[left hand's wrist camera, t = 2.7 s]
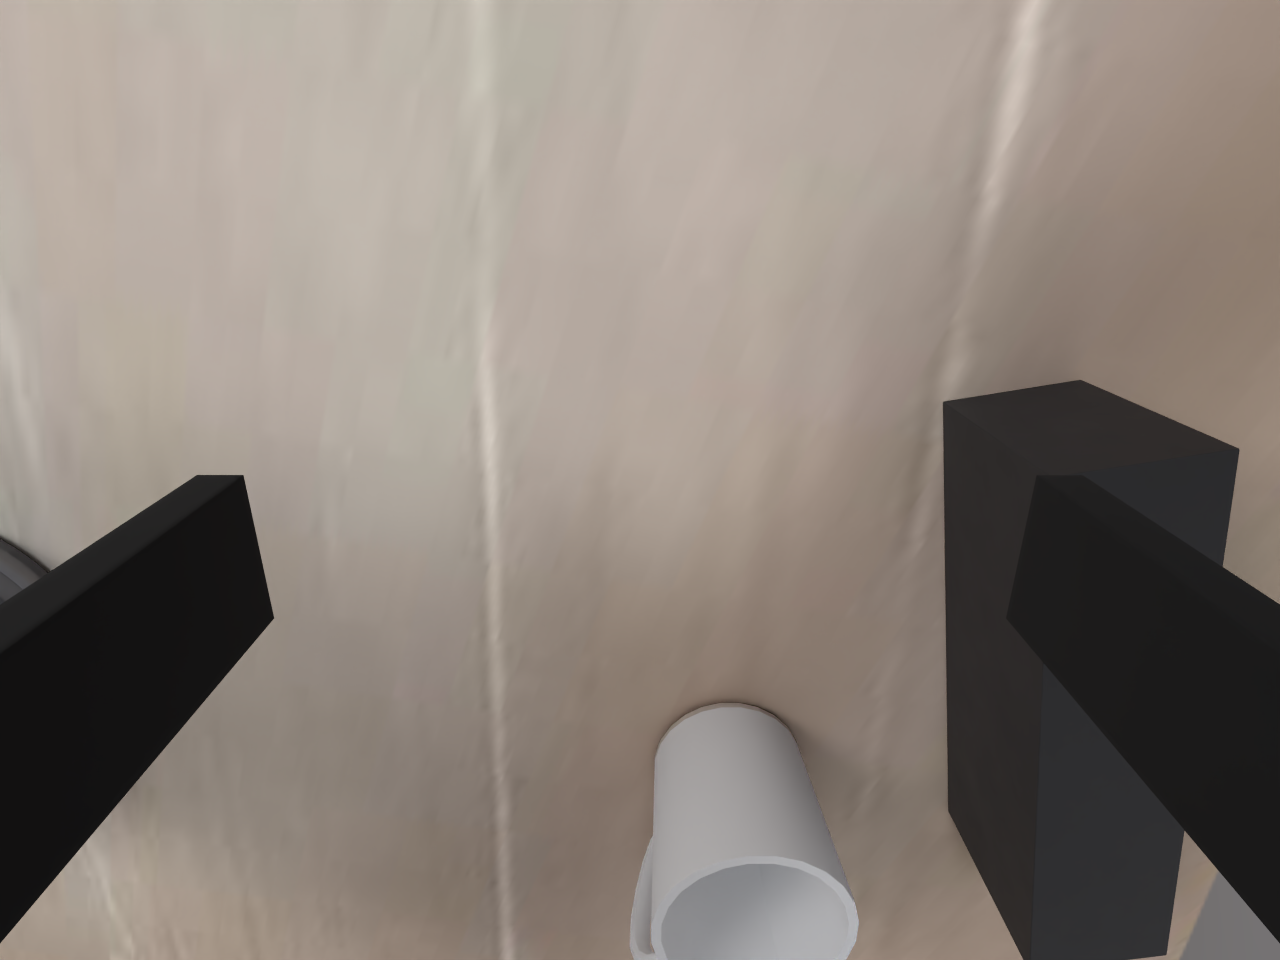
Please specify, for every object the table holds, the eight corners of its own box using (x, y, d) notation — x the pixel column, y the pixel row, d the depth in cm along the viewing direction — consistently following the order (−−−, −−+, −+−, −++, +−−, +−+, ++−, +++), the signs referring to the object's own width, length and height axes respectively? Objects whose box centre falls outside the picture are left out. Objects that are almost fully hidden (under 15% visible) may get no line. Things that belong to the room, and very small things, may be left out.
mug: (747, 665, 39) (785, 821, 29) (836, 770, 42) (897, 945, 32) (584, 765, 41) (570, 940, 32) (678, 858, 44) (691, 1046, 34)
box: (1056, 797, 43) (1166, 955, 34) (948, 811, 43) (1029, 972, 34) (1080, 379, 34) (1240, 448, 25) (942, 401, 34) (1051, 477, 25)
